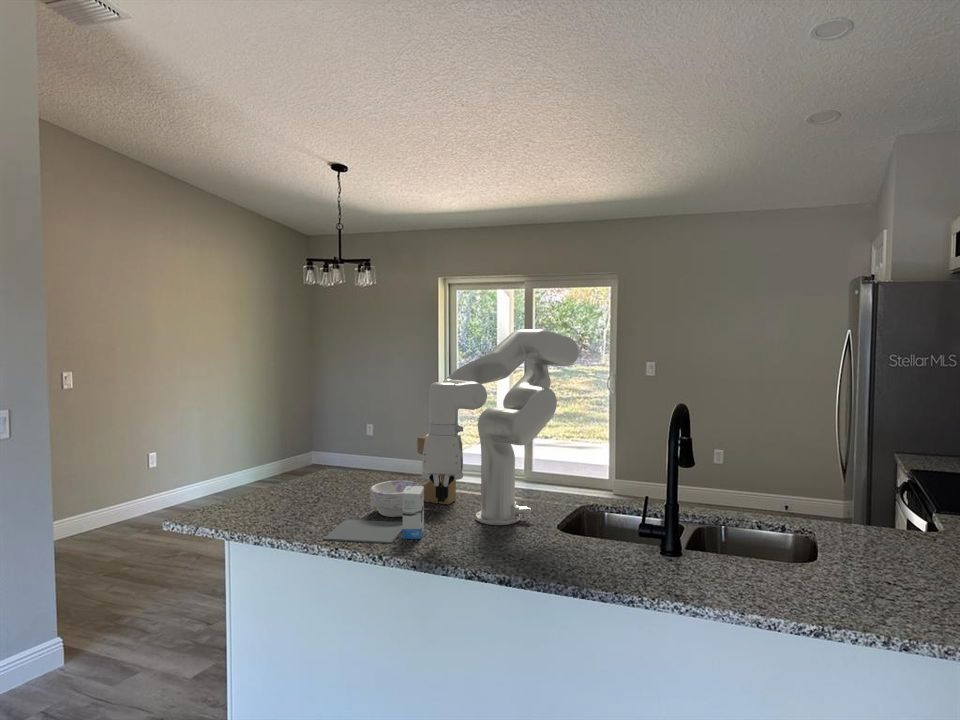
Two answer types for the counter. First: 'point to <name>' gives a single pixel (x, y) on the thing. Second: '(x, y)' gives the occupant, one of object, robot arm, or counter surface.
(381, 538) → the mat
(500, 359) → the robot arm
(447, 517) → the counter surface
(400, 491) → the paper bowls
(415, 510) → the ink box
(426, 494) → the decorative block
